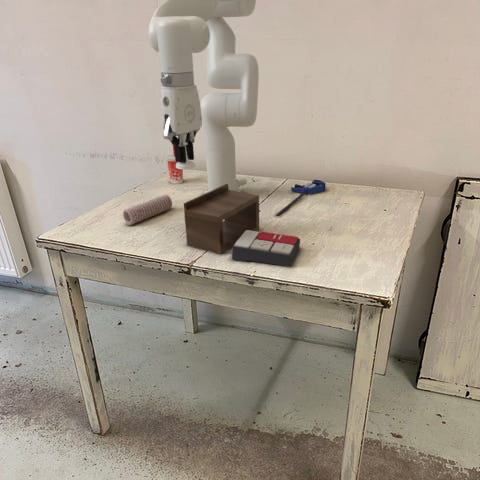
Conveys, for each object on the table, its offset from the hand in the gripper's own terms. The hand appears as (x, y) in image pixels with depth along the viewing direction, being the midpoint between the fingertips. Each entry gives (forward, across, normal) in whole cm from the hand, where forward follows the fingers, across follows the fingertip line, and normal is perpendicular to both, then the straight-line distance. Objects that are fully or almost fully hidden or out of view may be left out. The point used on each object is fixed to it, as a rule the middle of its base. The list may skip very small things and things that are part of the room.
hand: (184, 160), depth 123 cm
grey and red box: (+21, +1, -24) cm, 32 cm away
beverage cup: (+21, +37, +38) cm, 57 cm away
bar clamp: (+21, +42, -10) cm, 48 cm away
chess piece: (+2, 0, 0) cm, 2 cm away
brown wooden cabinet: (+21, +4, -8) cm, 23 cm away
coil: (+21, +5, +21) cm, 30 cm away
